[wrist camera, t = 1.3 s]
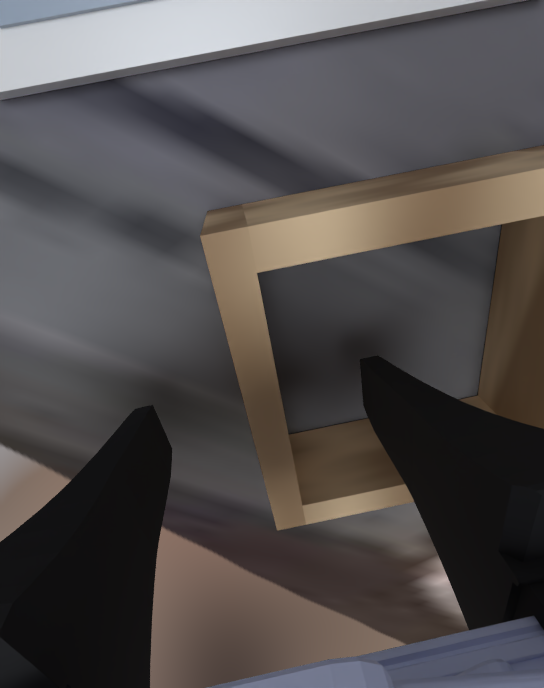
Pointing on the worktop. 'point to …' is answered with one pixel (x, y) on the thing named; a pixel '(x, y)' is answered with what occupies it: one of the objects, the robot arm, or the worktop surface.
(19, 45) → the post stand
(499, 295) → the wood collar
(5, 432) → the worktop surface
